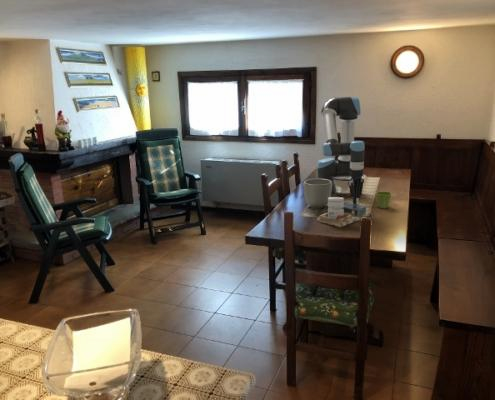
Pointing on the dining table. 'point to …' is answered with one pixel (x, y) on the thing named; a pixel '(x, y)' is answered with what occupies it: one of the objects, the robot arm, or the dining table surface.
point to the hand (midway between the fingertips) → (355, 208)
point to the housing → (355, 208)
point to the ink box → (336, 207)
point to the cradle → (348, 218)
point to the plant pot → (383, 199)
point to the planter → (317, 192)
